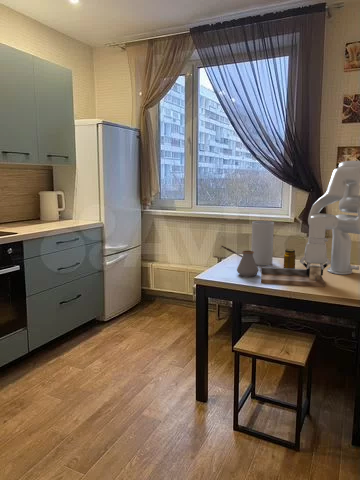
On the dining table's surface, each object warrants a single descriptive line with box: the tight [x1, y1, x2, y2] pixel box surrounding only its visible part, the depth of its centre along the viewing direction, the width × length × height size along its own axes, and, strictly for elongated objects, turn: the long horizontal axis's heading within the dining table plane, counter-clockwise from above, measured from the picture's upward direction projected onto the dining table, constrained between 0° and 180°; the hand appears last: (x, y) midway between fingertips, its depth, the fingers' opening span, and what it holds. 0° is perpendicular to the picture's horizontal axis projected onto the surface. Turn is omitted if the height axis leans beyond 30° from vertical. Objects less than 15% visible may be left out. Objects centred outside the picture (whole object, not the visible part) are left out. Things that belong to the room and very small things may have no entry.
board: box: [260, 266, 326, 288], centre depth 185 cm, size 30×12×5 cm, turn 77°
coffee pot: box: [219, 245, 259, 278], centre depth 198 cm, size 21×12×15 cm, turn 63°
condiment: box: [283, 248, 296, 269], centre depth 204 cm, size 7×8×12 cm
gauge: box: [309, 264, 321, 281], centre depth 181 cm, size 5×10×6 cm, turn 167°
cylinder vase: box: [250, 220, 275, 267], centre depth 219 cm, size 12×12×25 cm
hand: (314, 275), depth 184 cm, fingers closed on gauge, 5 cm apart
